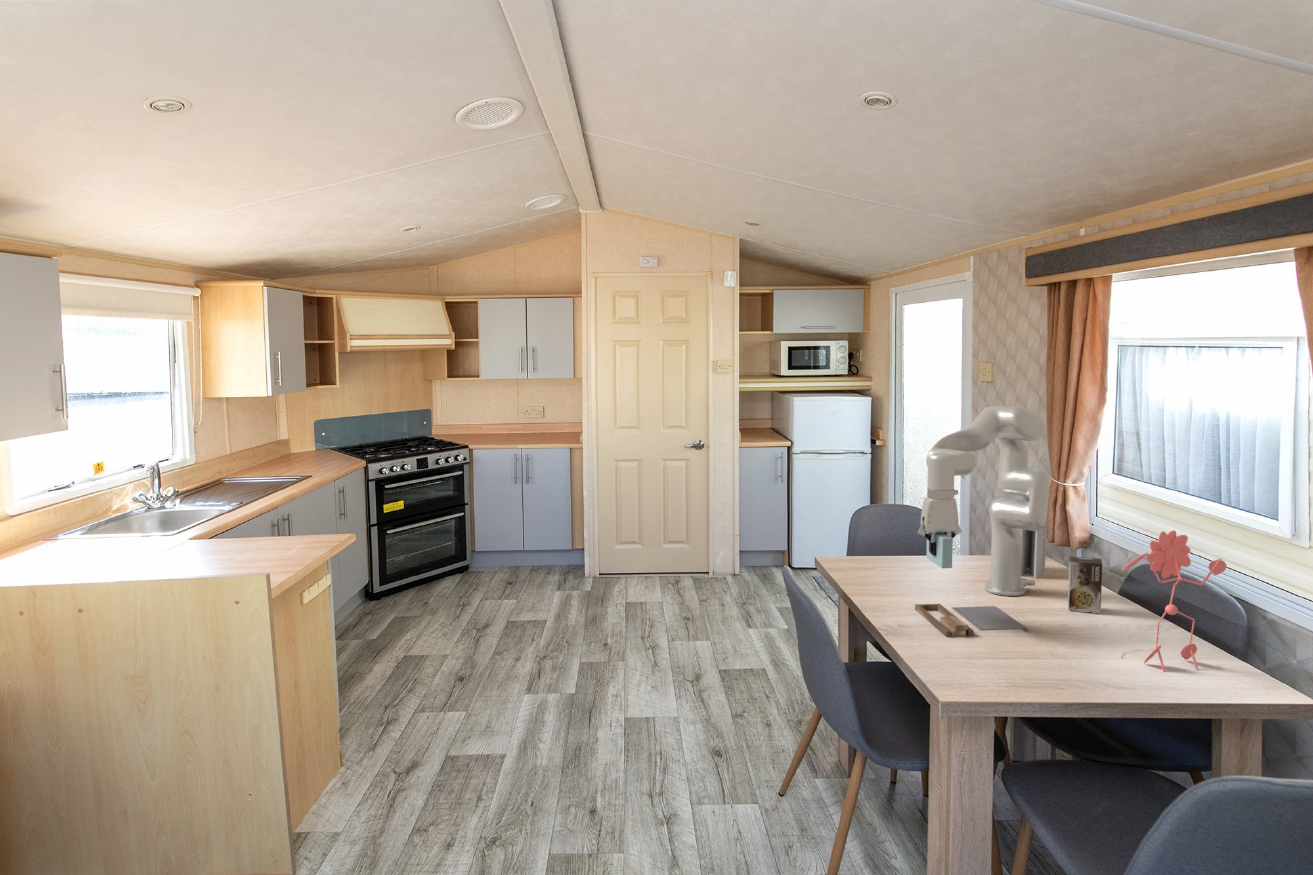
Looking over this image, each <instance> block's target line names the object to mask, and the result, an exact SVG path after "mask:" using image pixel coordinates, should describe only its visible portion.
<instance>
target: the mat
mask: <svg viewBox="0 0 1313 875" xmlns="http://www.w3.org/2000/svg"><path fill="white" fill-rule="evenodd" d="M951 609H952V610H954V611H955V612H956V613H957V614H959V615H960V616H962V618H964V619H965V620H967V622H969V623H971V625H973V626H974V627H975V628H976V629H978V630H979V631H992V630H993V631H999V630H1001V631H1002V630H1005V631H1006V630H1021V631H1023V632H1028V627H1026V626H1025V625H1024V624H1022V623H1020V622H1019V621H1018V620H1016V619H1015V618H1013V617H1012V616H1011V615H1009V614H1008V613H1006V612H1004V611H1003V610H1002V609H1000V608H999V607H997V606H995V605H991V606H989V605H988V606H985V605H984V606H964V607H963V606H962V607H961V606H957V607H954V606H953V607H951Z"/></svg>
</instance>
